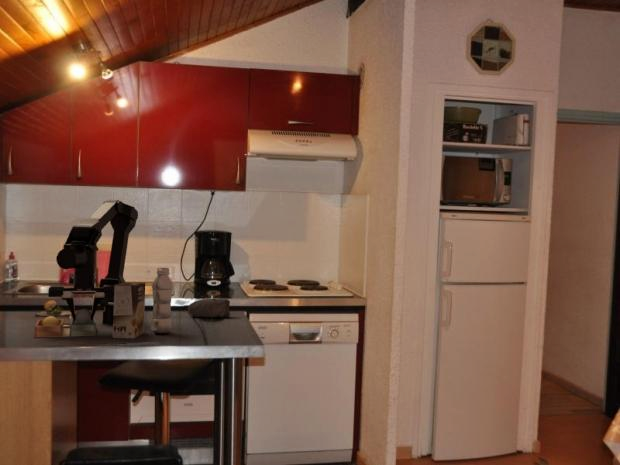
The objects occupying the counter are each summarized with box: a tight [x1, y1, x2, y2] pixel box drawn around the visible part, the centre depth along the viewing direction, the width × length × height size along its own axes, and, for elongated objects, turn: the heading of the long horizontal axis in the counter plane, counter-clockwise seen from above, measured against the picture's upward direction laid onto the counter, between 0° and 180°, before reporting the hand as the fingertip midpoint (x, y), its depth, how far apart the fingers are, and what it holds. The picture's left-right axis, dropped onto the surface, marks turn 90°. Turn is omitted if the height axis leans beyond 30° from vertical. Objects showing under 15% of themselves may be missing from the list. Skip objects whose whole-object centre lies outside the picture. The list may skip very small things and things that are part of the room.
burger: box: [34, 299, 72, 318], centre depth 202 cm, size 12×12×8 cm
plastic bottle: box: [150, 267, 174, 335], centre depth 179 cm, size 6×7×20 cm
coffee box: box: [112, 281, 146, 339], centre depth 170 cm, size 9×6×16 cm
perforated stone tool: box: [187, 298, 231, 319], centre depth 212 cm, size 15×5×7 cm, turn 92°
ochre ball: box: [42, 316, 58, 326], centre depth 172 cm, size 4×4×4 cm
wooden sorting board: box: [34, 317, 97, 338], centre depth 174 cm, size 16×20×4 cm
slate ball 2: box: [75, 320, 91, 325], centre depth 175 cm, size 4×4×4 cm
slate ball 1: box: [75, 308, 91, 324], centre depth 170 cm, size 4×4×4 cm
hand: (83, 320), depth 170 cm, fingers closed on slate ball 1, 4 cm apart
